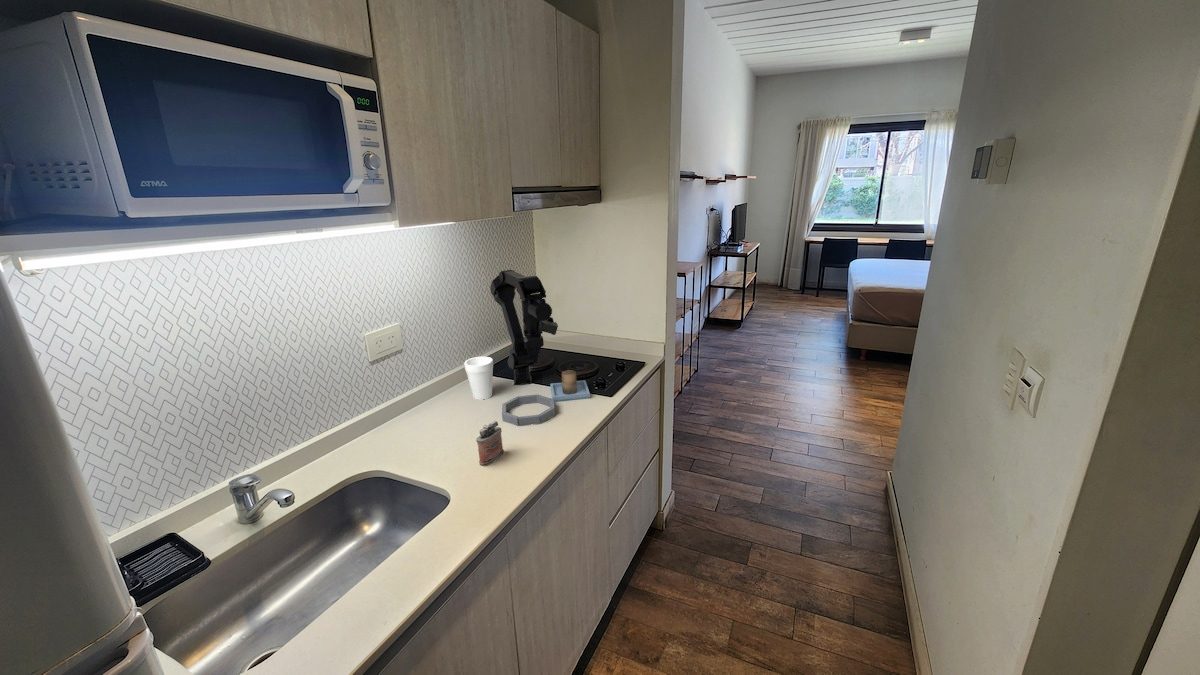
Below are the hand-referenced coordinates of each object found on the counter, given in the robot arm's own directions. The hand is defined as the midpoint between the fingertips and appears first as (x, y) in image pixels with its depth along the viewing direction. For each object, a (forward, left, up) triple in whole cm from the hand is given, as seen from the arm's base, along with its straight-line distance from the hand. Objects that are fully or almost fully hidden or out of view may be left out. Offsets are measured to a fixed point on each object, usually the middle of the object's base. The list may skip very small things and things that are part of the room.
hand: (534, 358), depth 167 cm
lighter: (+40, -14, -13) cm, 44 cm away
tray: (+3, +11, -13) cm, 17 cm away
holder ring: (+15, -4, -13) cm, 20 cm away
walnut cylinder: (+3, +11, -12) cm, 17 cm away
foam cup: (-2, -19, -13) cm, 23 cm away
